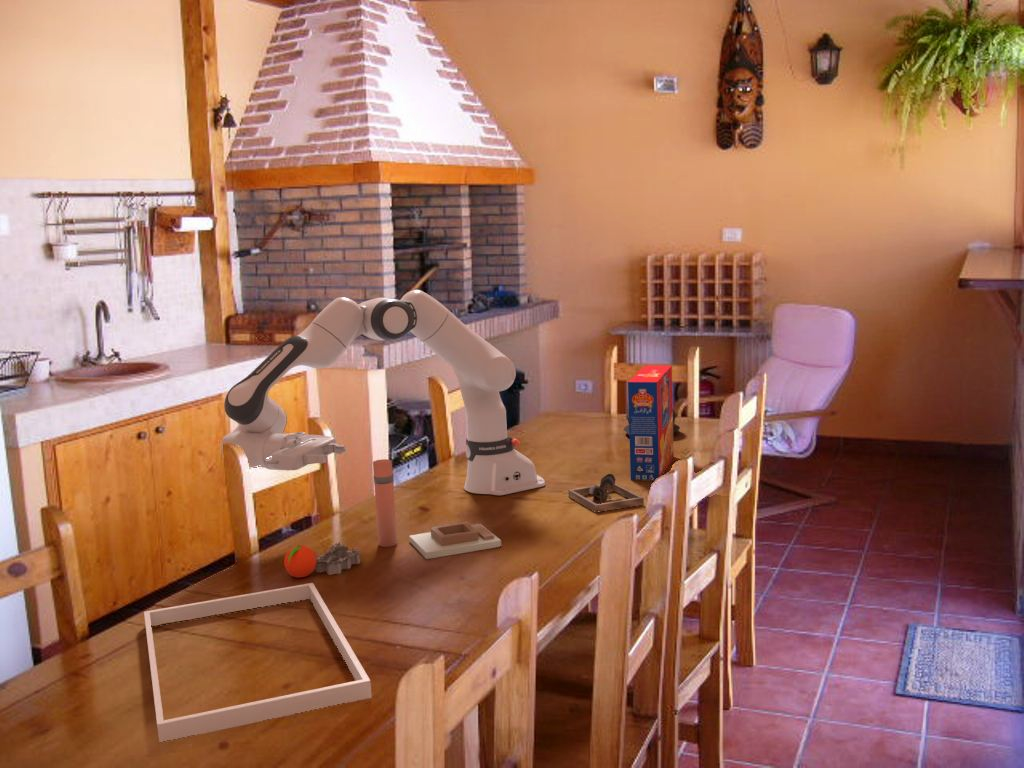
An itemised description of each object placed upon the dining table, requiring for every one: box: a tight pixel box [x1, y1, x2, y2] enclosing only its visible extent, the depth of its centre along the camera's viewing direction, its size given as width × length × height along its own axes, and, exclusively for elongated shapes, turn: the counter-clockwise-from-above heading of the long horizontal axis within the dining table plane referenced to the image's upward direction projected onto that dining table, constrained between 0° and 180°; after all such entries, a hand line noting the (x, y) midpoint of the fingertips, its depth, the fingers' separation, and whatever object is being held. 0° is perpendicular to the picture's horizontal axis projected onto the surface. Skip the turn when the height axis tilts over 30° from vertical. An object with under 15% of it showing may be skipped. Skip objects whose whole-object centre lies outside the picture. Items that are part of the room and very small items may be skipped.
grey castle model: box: [314, 541, 363, 576], centre depth 236 cm, size 11×8×4 cm
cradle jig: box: [408, 521, 502, 560], centre depth 247 cm, size 18×14×4 cm
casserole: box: [623, 408, 681, 436], centre depth 350 cm, size 25×19×8 cm
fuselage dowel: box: [372, 458, 398, 548], centre depth 248 cm, size 4×4×20 cm
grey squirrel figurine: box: [589, 473, 616, 504], centre depth 277 cm, size 8×7×9 cm
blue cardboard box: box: [627, 365, 675, 482], centre depth 305 cm, size 28×8×28 cm, turn 163°
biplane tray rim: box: [143, 582, 373, 743], centre depth 189 cm, size 33×50×3 cm, turn 21°
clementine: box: [283, 544, 317, 579], centre depth 229 cm, size 8×7×7 cm
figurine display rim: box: [567, 483, 645, 513], centre depth 276 cm, size 14×17×2 cm
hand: (334, 454), depth 250 cm, fingers open, 8 cm apart
